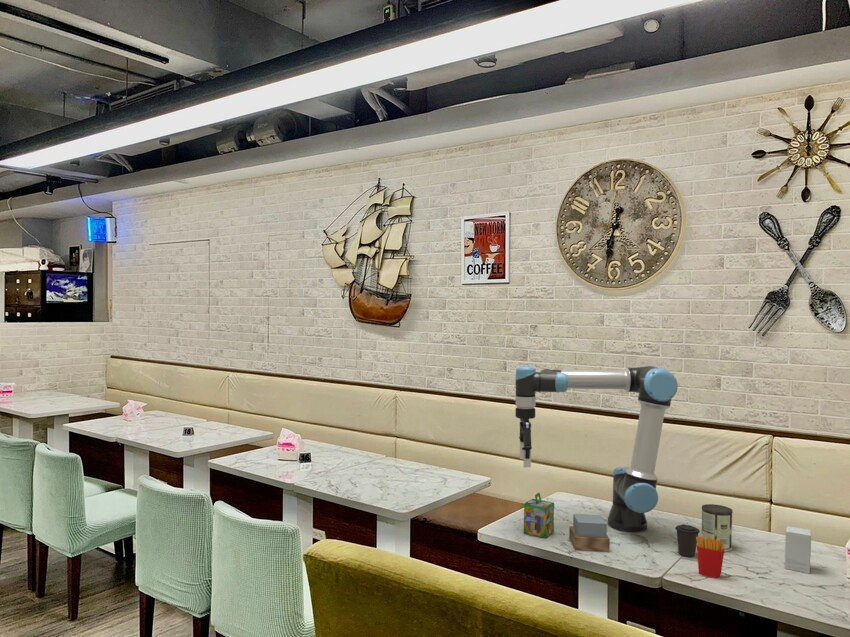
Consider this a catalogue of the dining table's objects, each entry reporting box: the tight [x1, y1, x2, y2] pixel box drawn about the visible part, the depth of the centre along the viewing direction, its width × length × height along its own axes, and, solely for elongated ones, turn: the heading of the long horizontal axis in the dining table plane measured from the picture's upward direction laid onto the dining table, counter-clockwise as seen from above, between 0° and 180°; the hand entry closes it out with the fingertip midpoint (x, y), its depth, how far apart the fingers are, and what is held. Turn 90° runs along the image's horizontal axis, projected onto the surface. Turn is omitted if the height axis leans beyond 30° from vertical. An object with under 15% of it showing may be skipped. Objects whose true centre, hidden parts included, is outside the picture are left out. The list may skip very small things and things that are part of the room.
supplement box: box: [784, 525, 812, 574], centre depth 210 cm, size 7×7×13 cm
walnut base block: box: [568, 525, 611, 553], centre depth 226 cm, size 12×12×5 cm
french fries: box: [696, 535, 725, 579], centre depth 202 cm, size 8×4×12 cm, turn 59°
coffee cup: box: [674, 523, 701, 559], centre depth 219 cm, size 8×8×10 cm
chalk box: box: [523, 492, 555, 539], centre depth 238 cm, size 9×9×15 cm
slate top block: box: [572, 513, 608, 538], centre depth 226 cm, size 10×10×5 cm
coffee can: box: [700, 503, 733, 553], centre depth 228 cm, size 10×10×14 cm
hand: (525, 463), depth 238 cm, fingers open, 13 cm apart
